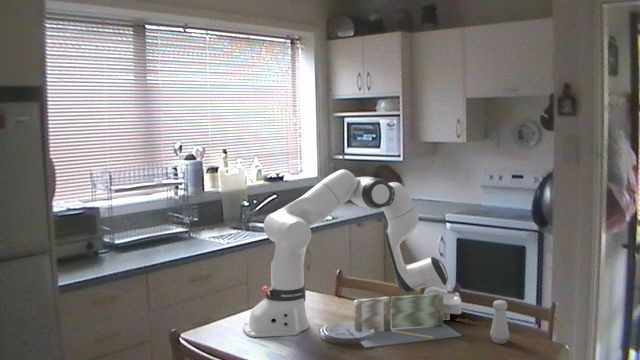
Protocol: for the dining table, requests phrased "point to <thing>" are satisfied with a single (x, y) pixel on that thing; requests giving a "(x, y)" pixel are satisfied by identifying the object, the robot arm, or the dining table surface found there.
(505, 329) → the salt shaker
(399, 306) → the green fence panel
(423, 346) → the dining table surface
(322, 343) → the dining table surface
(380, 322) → the beige patterned panel
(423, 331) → the board
